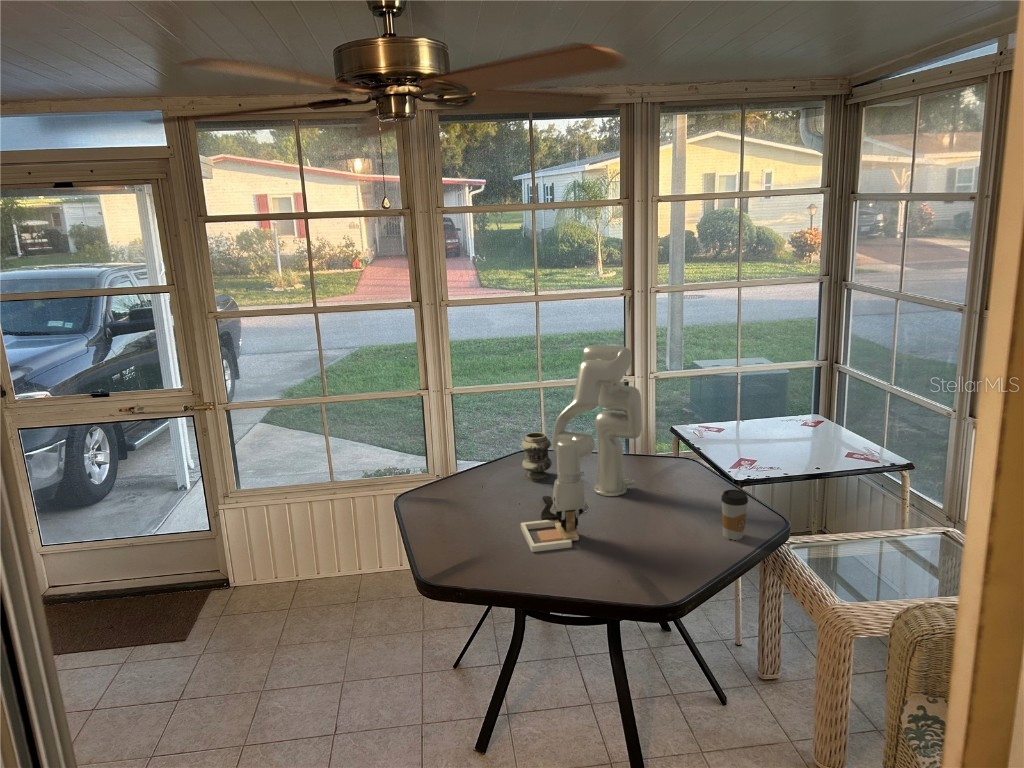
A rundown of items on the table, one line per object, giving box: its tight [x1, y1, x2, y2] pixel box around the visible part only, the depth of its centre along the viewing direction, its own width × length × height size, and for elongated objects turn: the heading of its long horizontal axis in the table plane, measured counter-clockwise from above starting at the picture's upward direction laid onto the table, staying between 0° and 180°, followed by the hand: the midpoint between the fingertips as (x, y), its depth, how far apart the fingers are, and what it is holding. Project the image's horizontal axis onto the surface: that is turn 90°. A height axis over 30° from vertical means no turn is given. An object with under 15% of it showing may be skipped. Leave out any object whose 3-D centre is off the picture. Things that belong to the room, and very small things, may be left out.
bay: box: [520, 519, 573, 553], centre depth 236 cm, size 13×18×2 cm
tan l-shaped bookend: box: [554, 510, 580, 542], centre depth 236 cm, size 5×12×8 cm, turn 11°
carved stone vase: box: [521, 431, 553, 482], centre depth 288 cm, size 12×12×18 cm
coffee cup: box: [721, 489, 749, 541], centre depth 230 cm, size 8×8×15 cm
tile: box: [536, 528, 563, 543], centre depth 236 cm, size 7×7×2 cm
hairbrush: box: [540, 495, 561, 521], centre depth 256 cm, size 8×4×25 cm
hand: (569, 527), depth 237 cm, fingers closed on tan l-shaped bookend, 2 cm apart
